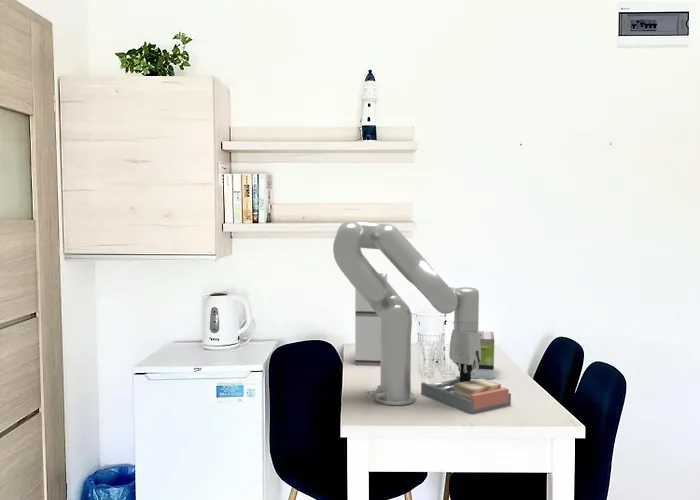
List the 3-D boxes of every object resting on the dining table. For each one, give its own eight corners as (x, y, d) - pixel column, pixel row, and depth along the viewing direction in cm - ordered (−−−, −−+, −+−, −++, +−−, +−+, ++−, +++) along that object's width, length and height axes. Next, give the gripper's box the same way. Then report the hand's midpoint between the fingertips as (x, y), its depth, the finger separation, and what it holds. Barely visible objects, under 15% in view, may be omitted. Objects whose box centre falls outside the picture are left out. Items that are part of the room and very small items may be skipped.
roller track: (471, 414, 183) (471, 402, 182) (421, 393, 203) (421, 382, 203) (510, 405, 191) (510, 393, 191) (458, 386, 211) (458, 376, 211)
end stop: (474, 409, 183) (474, 396, 183) (469, 407, 185) (469, 394, 185) (508, 401, 190) (508, 389, 190) (503, 400, 192) (503, 387, 192)
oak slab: (471, 399, 186) (471, 390, 185) (453, 393, 192) (453, 383, 192) (500, 393, 192) (500, 384, 192) (482, 387, 199) (482, 378, 198)
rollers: (471, 407, 185) (471, 401, 185) (426, 389, 204) (426, 383, 204) (501, 400, 192) (501, 394, 192) (454, 383, 210) (454, 378, 210)
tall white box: (386, 359, 250) (387, 273, 248) (384, 366, 240) (384, 275, 237) (358, 358, 252) (358, 272, 250) (355, 365, 241) (355, 275, 239)
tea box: (494, 379, 220) (494, 338, 219) (465, 378, 222) (465, 337, 221) (493, 369, 235) (493, 330, 234) (466, 367, 237) (466, 329, 236)
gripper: (441, 324, 200) (440, 380, 201) (474, 331, 187) (472, 391, 189) (458, 322, 204) (457, 377, 205) (492, 329, 191) (490, 388, 193)
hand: (465, 384), depth 197 cm, fingers closed
